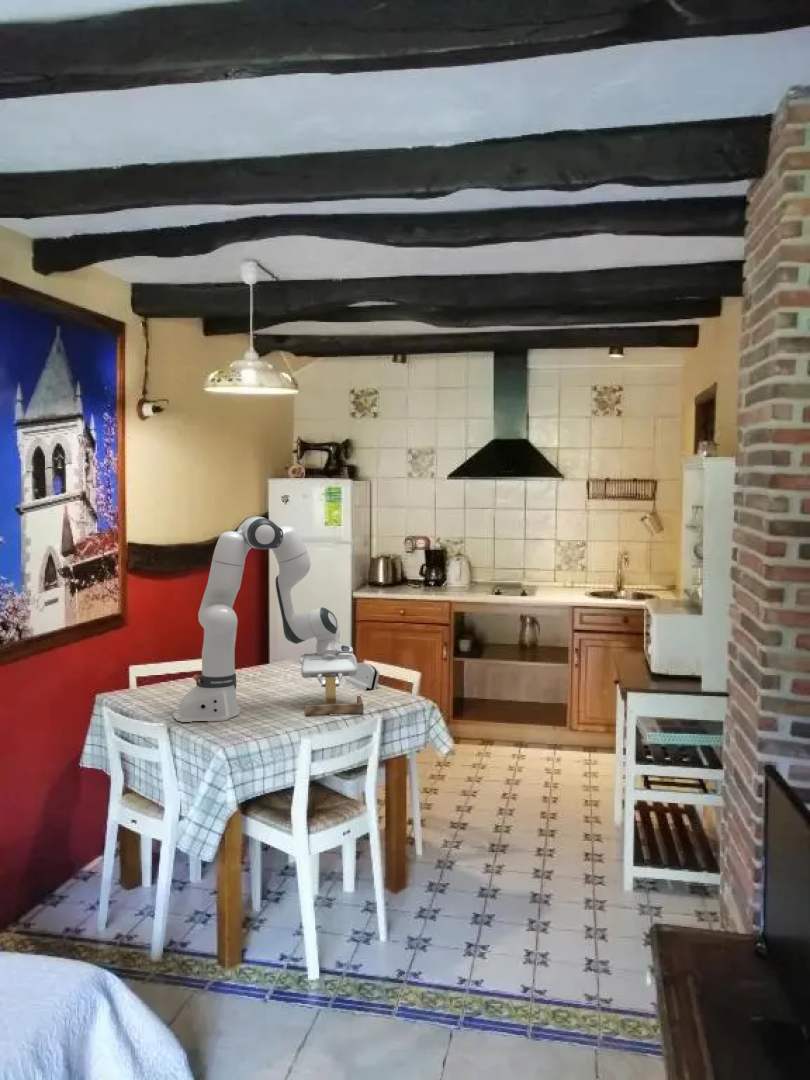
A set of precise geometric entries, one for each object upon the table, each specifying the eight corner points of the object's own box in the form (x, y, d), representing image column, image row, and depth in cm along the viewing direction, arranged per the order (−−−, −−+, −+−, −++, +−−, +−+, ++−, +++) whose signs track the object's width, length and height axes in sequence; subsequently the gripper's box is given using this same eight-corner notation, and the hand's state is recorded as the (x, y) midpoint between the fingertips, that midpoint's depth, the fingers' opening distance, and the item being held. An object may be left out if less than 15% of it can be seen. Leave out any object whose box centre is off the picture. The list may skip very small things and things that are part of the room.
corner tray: (305, 716, 299) (305, 706, 299) (304, 707, 311) (304, 697, 311) (363, 714, 302) (363, 704, 302) (360, 705, 314) (360, 695, 314)
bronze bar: (325, 703, 306) (325, 675, 305) (325, 700, 309) (325, 673, 308) (335, 703, 306) (335, 674, 305) (335, 700, 310) (334, 672, 309)
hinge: (344, 682, 349) (352, 658, 350) (354, 685, 351) (361, 661, 352) (365, 691, 335) (372, 666, 336) (375, 693, 337) (382, 668, 338)
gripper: (299, 649, 312) (300, 682, 303) (356, 647, 315) (359, 680, 306) (299, 658, 316) (300, 691, 308) (355, 656, 319) (358, 689, 310)
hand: (330, 685), depth 307 cm, fingers closed on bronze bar, 3 cm apart
